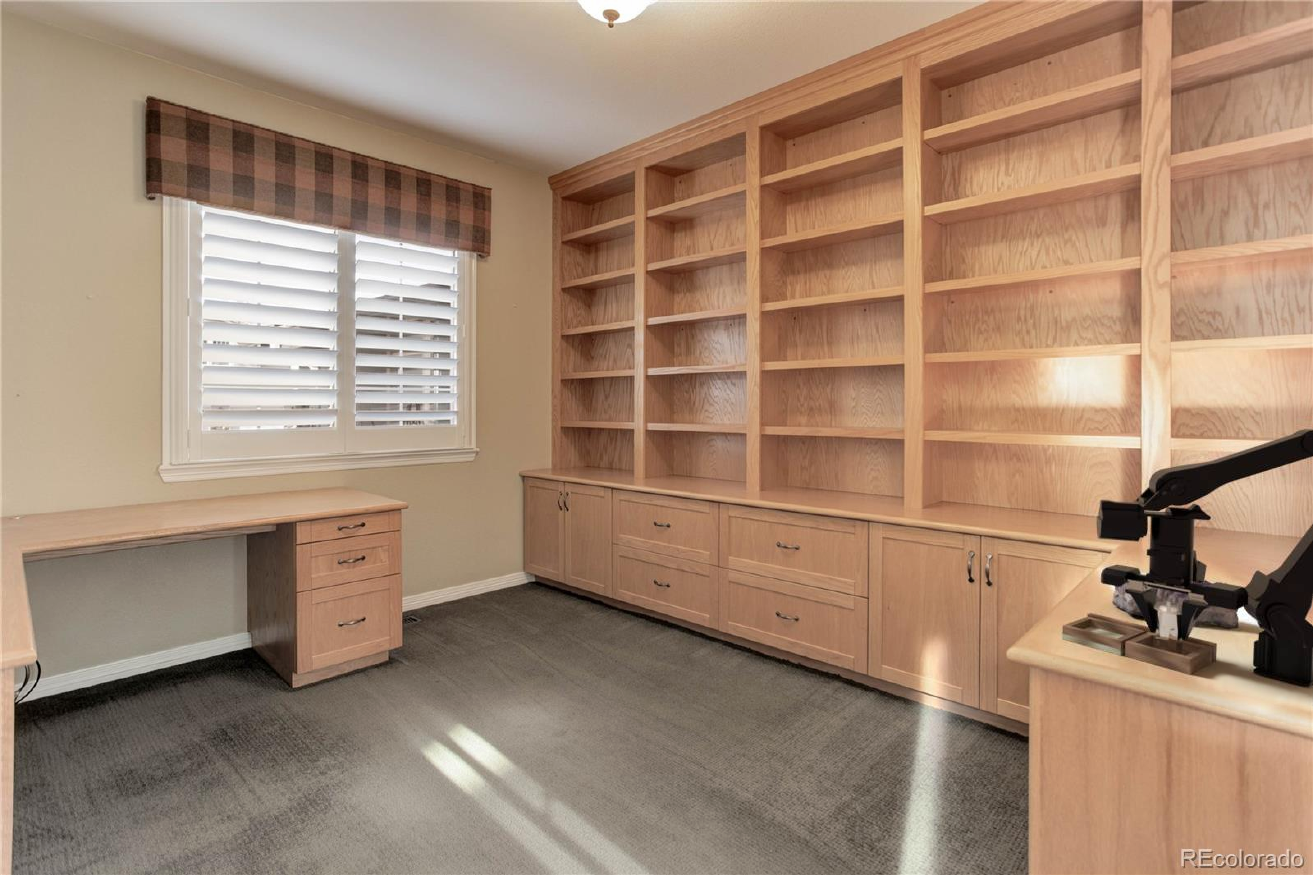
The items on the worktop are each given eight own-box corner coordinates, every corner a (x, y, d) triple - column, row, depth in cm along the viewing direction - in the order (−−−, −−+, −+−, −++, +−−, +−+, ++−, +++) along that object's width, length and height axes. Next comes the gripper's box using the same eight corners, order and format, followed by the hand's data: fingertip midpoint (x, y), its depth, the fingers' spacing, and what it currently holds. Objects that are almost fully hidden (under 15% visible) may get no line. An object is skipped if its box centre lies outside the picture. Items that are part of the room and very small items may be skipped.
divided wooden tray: (1216, 661, 108) (1216, 643, 108) (1190, 675, 102) (1190, 656, 102) (1090, 628, 124) (1090, 612, 124) (1061, 638, 118) (1062, 622, 118)
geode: (1229, 617, 131) (1235, 571, 129) (1244, 642, 121) (1251, 592, 119) (1108, 599, 141) (1112, 555, 139) (1113, 620, 131) (1117, 574, 130)
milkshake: (1149, 657, 108) (1150, 598, 108) (1154, 648, 112) (1156, 592, 111) (1183, 664, 105) (1185, 604, 104) (1188, 655, 109) (1190, 597, 108)
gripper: (1262, 548, 104) (1258, 643, 105) (1129, 530, 120) (1127, 613, 121) (1236, 557, 98) (1233, 657, 99) (1100, 536, 114) (1098, 623, 115)
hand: (1168, 635), depth 108 cm, fingers closed on milkshake, 4 cm apart
